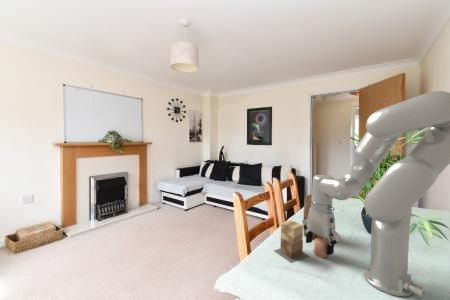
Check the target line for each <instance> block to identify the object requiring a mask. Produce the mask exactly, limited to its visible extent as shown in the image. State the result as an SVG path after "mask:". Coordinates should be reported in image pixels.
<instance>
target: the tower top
mask: <svg viewBox="0 0 450 300" xmlns="http://www.w3.org/2000/svg"><path fill="white" fill-rule="evenodd" d="M303 236H304V230H303V223H300V222H299V223H298V222H297V221H294V220H291V219H289V220H287V221H284V222H281V223H280V239H281V238H282V239H284V240H286V241H288V242H290V243H293V244H294V243H296V242H298V241H301V240H303V238H304V237H303ZM303 241H304V240H303Z"/></svg>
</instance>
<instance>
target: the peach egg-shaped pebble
mask: <svg viewBox="0 0 450 300" xmlns="http://www.w3.org/2000/svg"><path fill="white" fill-rule="evenodd" d="M327 244H328V242H327V241H326V239H325V238H323V237H322V238H316V239H315V240H314V244H313V247H314V252H313V254H314V256H316V257H318V258H320V259H327V258H328V257H329V255H327V254H326V249H327Z"/></svg>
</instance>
